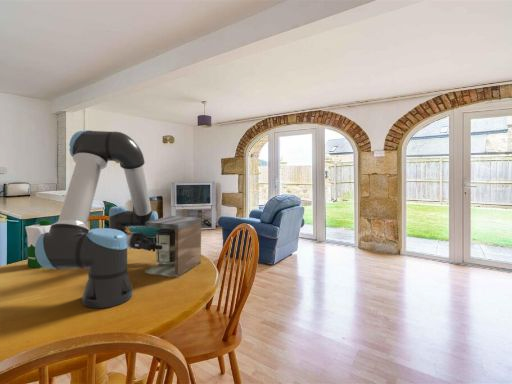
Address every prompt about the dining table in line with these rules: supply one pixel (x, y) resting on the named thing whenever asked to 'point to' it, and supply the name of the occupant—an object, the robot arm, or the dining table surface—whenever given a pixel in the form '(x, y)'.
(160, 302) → the dining table surface
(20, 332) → the dining table surface
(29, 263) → the milk carton
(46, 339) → the dining table surface
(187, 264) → the brown piece
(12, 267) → the dining table surface
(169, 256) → the coffee can
